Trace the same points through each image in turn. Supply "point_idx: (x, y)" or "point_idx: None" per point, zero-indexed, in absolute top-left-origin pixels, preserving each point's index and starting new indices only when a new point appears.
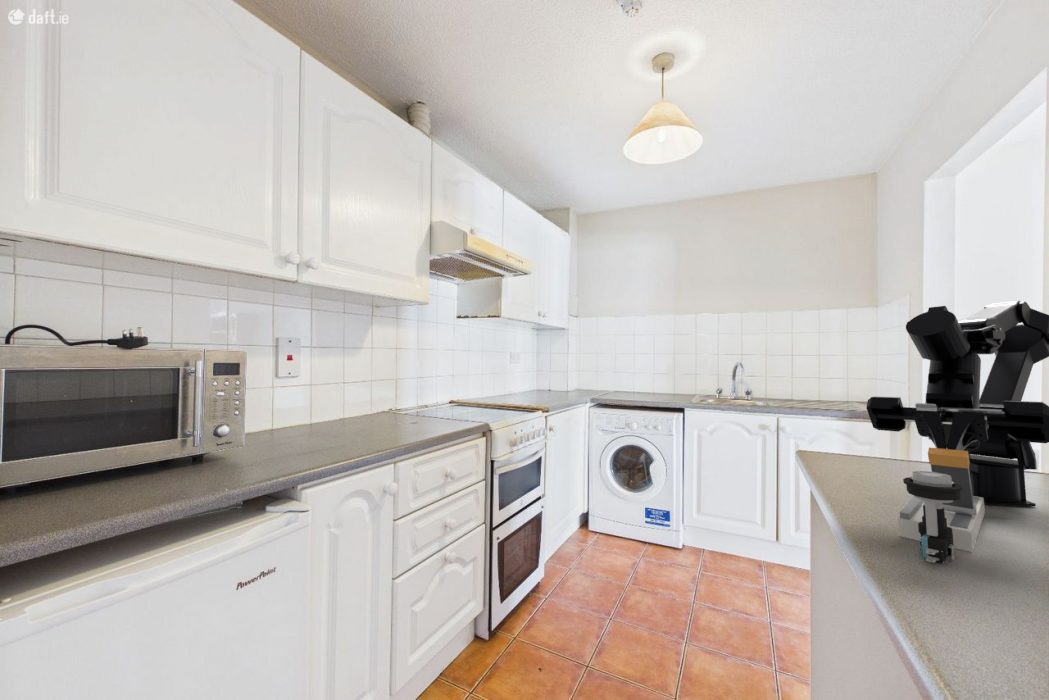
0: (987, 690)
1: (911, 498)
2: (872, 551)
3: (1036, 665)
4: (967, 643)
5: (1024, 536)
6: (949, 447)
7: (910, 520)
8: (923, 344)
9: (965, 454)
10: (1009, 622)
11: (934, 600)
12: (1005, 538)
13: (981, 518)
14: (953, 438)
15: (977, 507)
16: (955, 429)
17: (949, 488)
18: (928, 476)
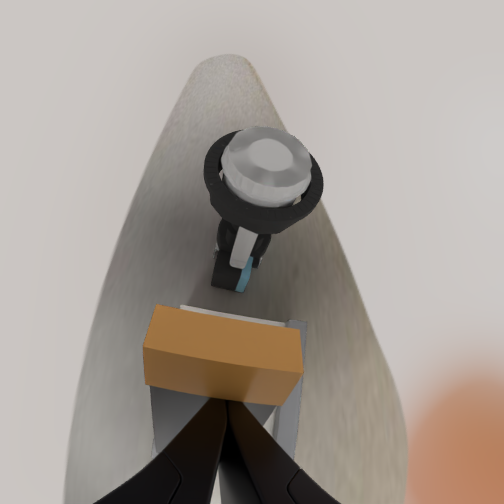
0: (224, 54)
1: None
2: (316, 228)
3: (191, 76)
4: (226, 81)
5: (86, 480)
6: (214, 431)
7: (283, 323)
8: None
9: (158, 324)
10: (190, 115)
11: (244, 125)
12: (116, 448)
13: None
14: (194, 460)
15: None
16: (177, 498)
17: (233, 132)
18: (275, 133)
